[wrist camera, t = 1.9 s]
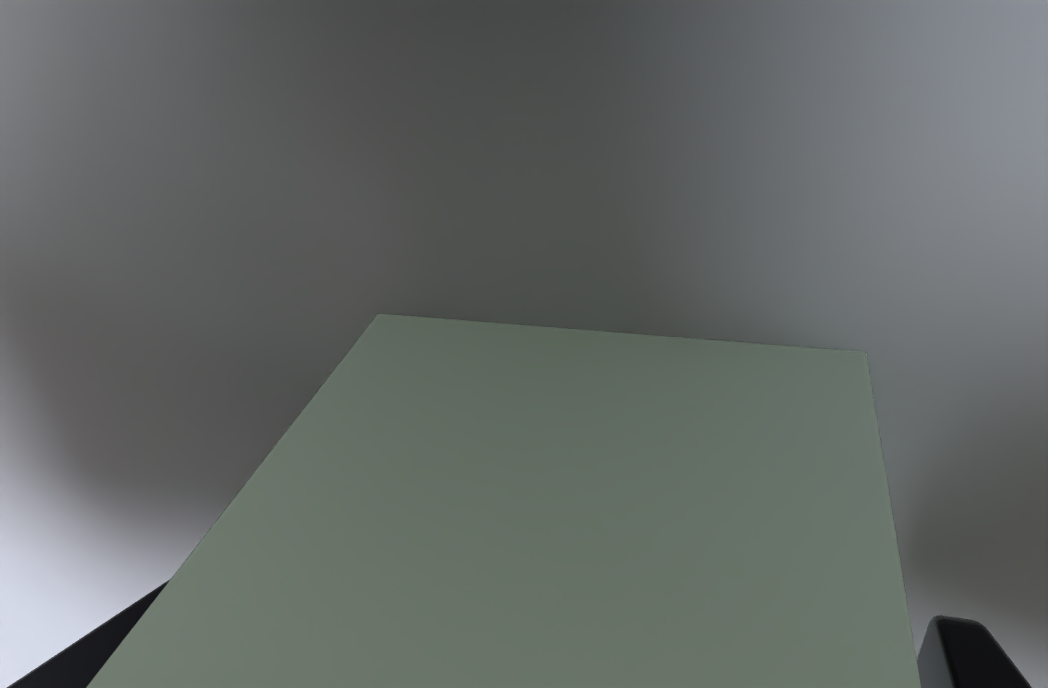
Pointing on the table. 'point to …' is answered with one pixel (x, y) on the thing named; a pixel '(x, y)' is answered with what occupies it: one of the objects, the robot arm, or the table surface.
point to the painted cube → (550, 524)
